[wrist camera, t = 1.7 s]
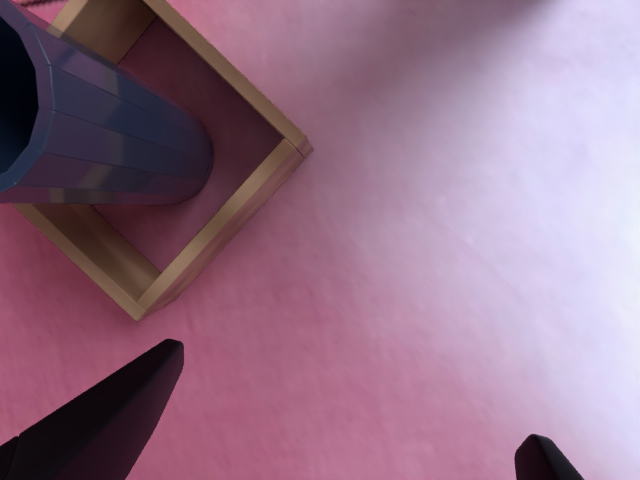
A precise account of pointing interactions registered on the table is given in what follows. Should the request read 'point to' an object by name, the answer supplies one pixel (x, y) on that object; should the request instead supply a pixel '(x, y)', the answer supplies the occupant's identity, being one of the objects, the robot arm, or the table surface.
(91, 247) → the crate
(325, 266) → the table surface
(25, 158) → the tumbler
